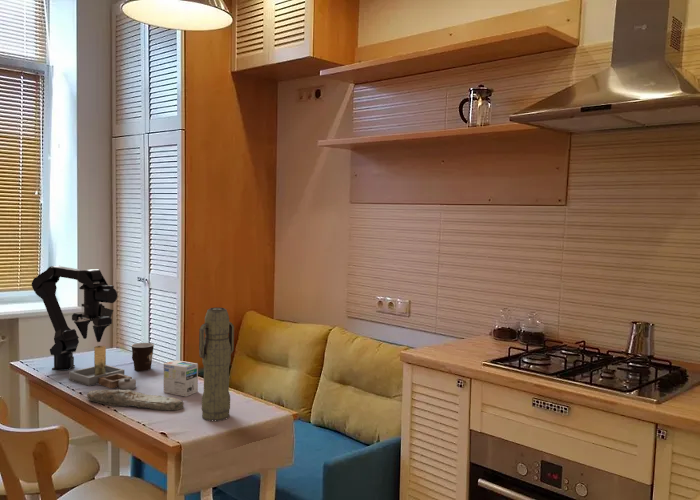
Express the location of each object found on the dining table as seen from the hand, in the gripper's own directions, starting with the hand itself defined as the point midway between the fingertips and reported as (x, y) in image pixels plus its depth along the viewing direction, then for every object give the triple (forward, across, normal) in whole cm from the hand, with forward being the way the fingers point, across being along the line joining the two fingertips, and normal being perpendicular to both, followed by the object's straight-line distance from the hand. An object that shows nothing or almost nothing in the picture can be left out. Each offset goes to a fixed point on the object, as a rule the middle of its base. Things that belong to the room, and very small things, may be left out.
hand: (91, 340), depth 245 cm
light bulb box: (+13, -47, -5) cm, 49 cm away
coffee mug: (+13, -11, -14) cm, 22 cm away
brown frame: (+13, -23, +3) cm, 27 cm away
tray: (+13, -9, +4) cm, 16 cm away
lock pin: (+12, -11, +4) cm, 17 cm away
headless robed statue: (+13, -76, +5) cm, 77 cm away
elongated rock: (+14, -45, +13) cm, 49 cm away
